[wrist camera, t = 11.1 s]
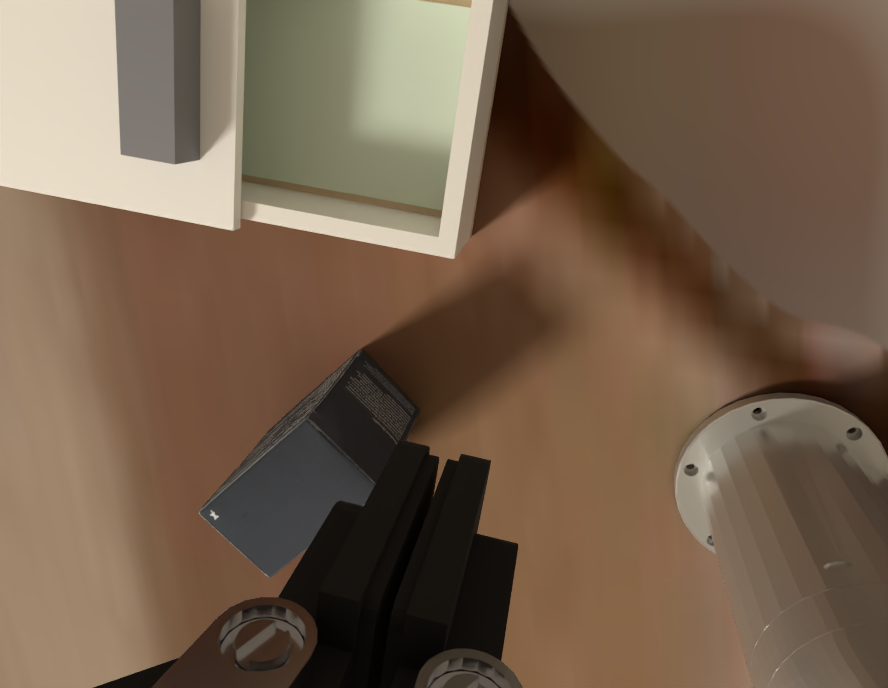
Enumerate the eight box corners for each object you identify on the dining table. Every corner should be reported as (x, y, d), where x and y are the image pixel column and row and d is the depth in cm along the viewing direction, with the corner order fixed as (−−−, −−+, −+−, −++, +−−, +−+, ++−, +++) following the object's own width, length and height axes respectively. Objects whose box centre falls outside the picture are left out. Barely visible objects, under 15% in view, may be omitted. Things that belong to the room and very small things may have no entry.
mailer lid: (272, -68, 35) (214, -97, 29) (261, 219, 40) (211, 239, 35) (-92, -116, 38) (-207, -151, 32) (-55, 158, 43) (-147, 169, 38)
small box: (328, 491, 51) (268, 585, 41) (266, 430, 50) (190, 512, 40) (426, 413, 47) (385, 497, 37) (361, 345, 46) (301, 413, 36)
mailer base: (511, -16, 37) (498, -34, 31) (471, 236, 42) (454, 258, 36) (172, -62, 39) (104, -87, 34) (174, 181, 44) (116, 194, 39)
